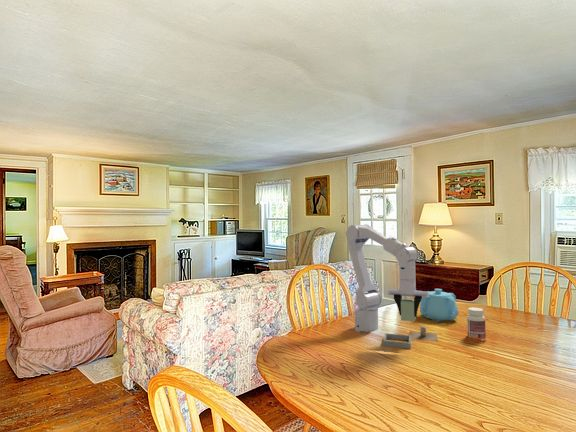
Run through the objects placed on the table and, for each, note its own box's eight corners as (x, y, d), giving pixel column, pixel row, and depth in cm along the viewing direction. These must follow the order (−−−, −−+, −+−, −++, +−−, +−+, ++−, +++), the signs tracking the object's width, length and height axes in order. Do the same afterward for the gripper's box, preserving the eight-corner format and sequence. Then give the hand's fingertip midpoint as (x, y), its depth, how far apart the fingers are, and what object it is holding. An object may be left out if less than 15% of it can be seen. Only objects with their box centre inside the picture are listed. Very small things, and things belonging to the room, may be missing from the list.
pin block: (409, 341, 137) (409, 329, 137) (409, 333, 146) (409, 322, 146) (438, 343, 133) (437, 332, 133) (436, 335, 143) (436, 324, 143)
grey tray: (383, 348, 130) (382, 341, 130) (385, 339, 139) (385, 333, 139) (410, 350, 127) (410, 343, 127) (411, 342, 136) (411, 335, 136)
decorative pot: (415, 320, 165) (414, 290, 165) (424, 312, 178) (424, 284, 178) (454, 326, 155) (453, 294, 156) (461, 317, 169) (460, 287, 169)
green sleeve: (401, 320, 135) (400, 301, 135) (402, 317, 139) (402, 298, 139) (414, 321, 133) (413, 302, 133) (415, 318, 137) (415, 299, 137)
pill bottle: (489, 341, 136) (488, 310, 136) (474, 342, 135) (473, 311, 135) (478, 335, 142) (478, 306, 142) (464, 336, 141) (463, 307, 141)
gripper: (428, 278, 137) (429, 314, 137) (389, 276, 143) (390, 311, 143) (427, 281, 130) (428, 319, 130) (386, 279, 136) (387, 315, 136)
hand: (408, 315), depth 136 cm, fingers closed on green sleeve, 5 cm apart
